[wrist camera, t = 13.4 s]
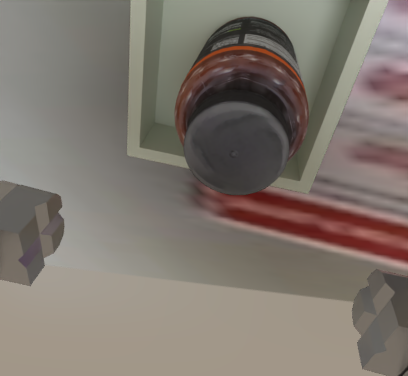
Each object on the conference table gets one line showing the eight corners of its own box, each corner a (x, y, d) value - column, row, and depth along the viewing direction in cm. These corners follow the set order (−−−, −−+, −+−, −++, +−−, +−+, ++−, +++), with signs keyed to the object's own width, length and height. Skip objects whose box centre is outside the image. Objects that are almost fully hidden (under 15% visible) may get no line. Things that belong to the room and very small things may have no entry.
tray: (372, -28, 19) (396, -19, 16) (303, 158, 26) (308, 194, 23) (158, -69, 20) (132, -70, 16) (146, 125, 27) (126, 155, 23)
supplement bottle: (247, 127, 25) (234, 238, 16) (183, 67, 23) (125, 153, 14) (317, 64, 22) (352, 157, 12) (249, -11, 20) (230, 34, 11)
